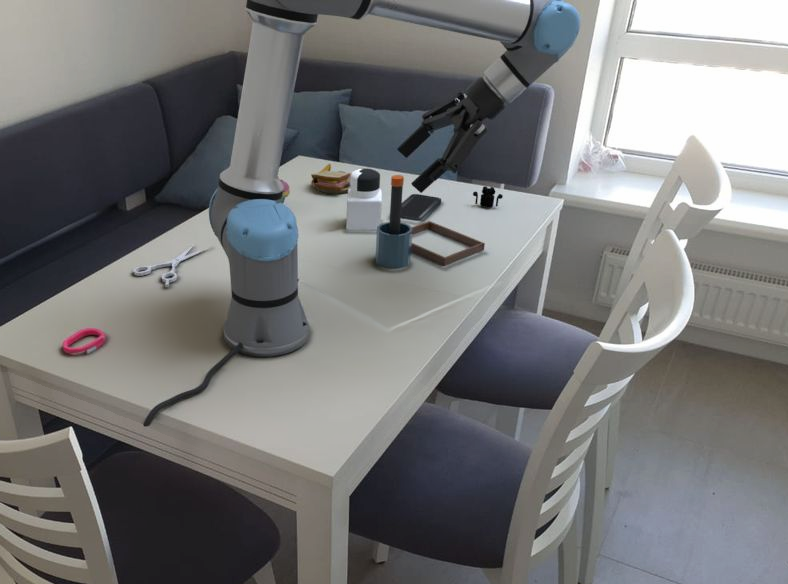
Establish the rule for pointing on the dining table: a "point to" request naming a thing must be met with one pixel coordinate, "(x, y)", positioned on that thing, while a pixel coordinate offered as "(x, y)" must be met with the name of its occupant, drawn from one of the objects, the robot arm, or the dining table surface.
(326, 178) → the toy sandwich meal
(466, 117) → the robot arm
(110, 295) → the dining table surface
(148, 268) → the scissors
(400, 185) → the marker
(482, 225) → the dining table surface
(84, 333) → the fitness band
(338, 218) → the dining table surface
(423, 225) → the tray
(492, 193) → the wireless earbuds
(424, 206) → the phone
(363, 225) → the container
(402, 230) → the pen cup
